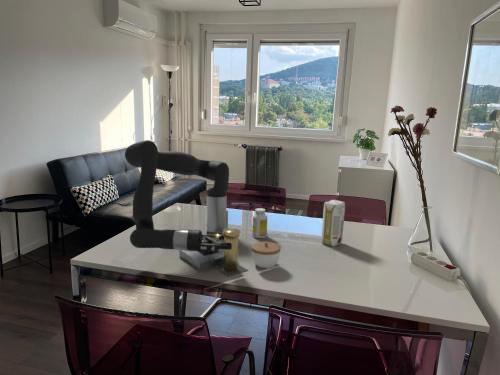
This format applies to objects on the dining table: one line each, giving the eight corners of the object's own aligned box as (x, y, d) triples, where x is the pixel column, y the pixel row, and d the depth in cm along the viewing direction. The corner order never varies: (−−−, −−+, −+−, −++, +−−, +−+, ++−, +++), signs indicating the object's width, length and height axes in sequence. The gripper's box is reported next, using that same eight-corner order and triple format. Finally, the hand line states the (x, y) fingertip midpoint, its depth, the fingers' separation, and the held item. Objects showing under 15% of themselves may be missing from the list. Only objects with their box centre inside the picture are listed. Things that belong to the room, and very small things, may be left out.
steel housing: (214, 249, 157) (214, 241, 157) (236, 262, 145) (236, 253, 144) (179, 257, 148) (179, 249, 147) (200, 272, 135) (200, 263, 135)
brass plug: (232, 264, 142) (233, 227, 138) (242, 269, 137) (243, 231, 134) (219, 267, 138) (219, 230, 135) (228, 273, 133) (229, 234, 130)
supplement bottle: (268, 235, 177) (269, 208, 174) (264, 239, 170) (265, 212, 168) (254, 233, 179) (255, 206, 176) (250, 237, 173) (251, 210, 170)
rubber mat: (233, 263, 144) (234, 261, 144) (248, 271, 137) (248, 270, 137) (213, 269, 138) (213, 267, 138) (227, 278, 131) (227, 276, 131)
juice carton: (343, 243, 168) (347, 202, 164) (333, 248, 162) (337, 205, 158) (329, 238, 173) (332, 198, 169) (318, 243, 167) (321, 202, 163)
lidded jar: (270, 274, 135) (271, 250, 133) (245, 267, 141) (246, 243, 139) (284, 264, 144) (285, 241, 142) (260, 258, 150) (261, 235, 148)
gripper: (183, 236, 128) (231, 238, 127) (191, 224, 142) (234, 225, 141) (183, 257, 130) (230, 259, 129) (191, 243, 143) (234, 244, 143)
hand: (232, 241), depth 135 cm, fingers open, 8 cm apart
